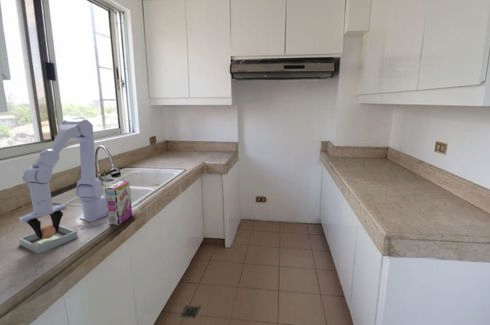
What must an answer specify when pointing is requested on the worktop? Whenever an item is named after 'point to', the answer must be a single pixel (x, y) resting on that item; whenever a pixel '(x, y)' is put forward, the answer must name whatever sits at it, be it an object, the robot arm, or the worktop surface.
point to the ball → (48, 231)
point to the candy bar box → (118, 202)
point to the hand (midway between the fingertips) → (48, 233)
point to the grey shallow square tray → (47, 240)
